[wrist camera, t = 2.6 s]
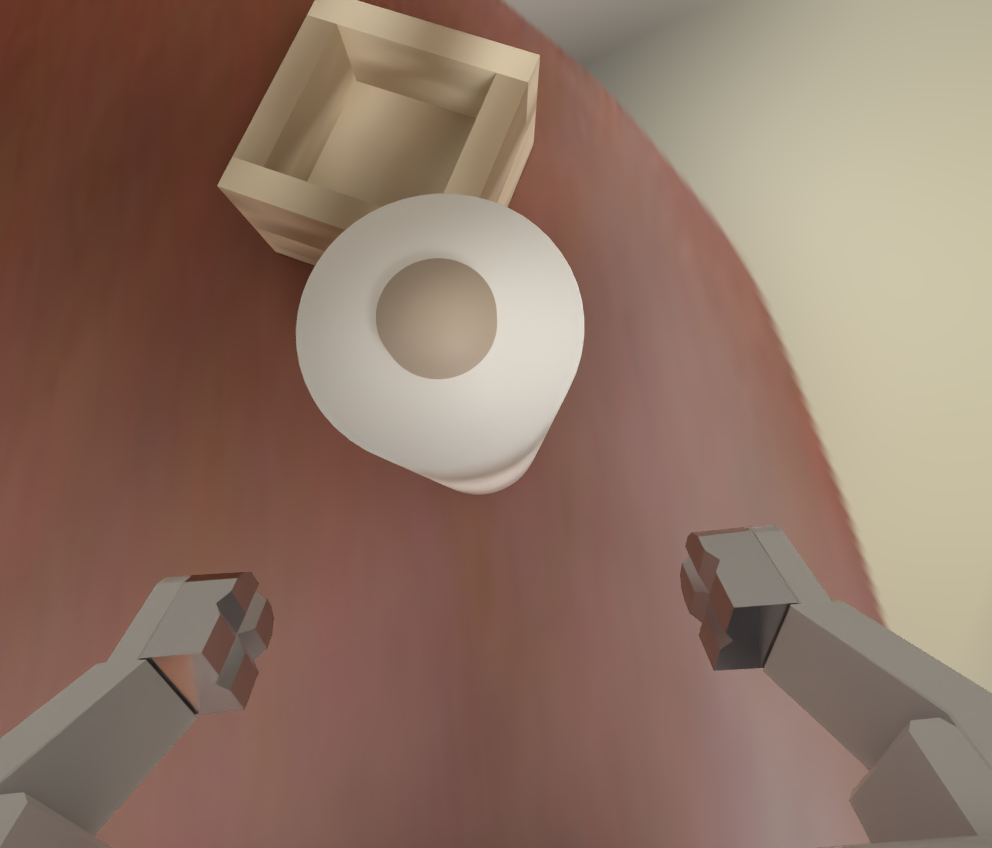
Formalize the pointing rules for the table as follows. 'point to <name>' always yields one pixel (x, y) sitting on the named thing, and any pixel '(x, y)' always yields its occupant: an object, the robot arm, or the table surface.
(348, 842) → the table surface
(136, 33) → the table surface
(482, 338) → the paper roll
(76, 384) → the table surface
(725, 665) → the robot arm
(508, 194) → the open wooden box
